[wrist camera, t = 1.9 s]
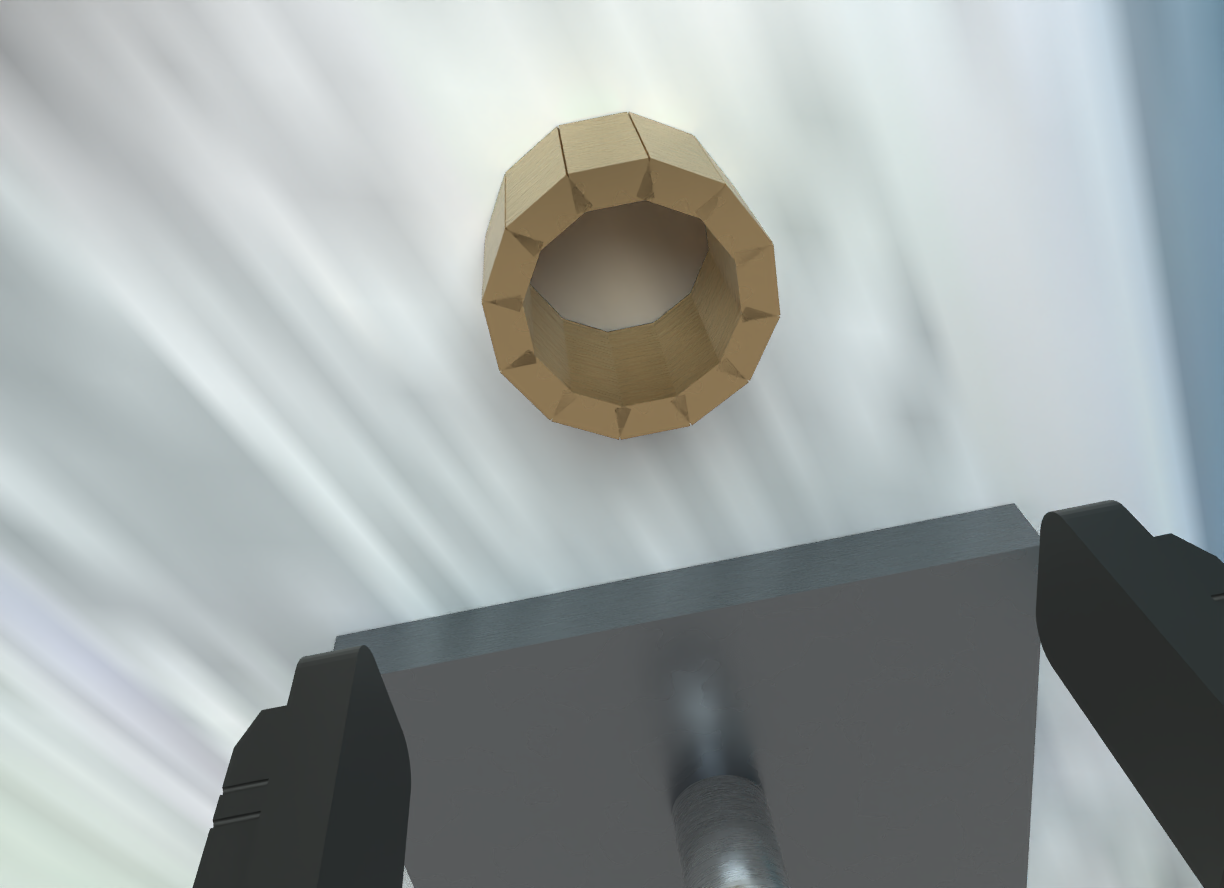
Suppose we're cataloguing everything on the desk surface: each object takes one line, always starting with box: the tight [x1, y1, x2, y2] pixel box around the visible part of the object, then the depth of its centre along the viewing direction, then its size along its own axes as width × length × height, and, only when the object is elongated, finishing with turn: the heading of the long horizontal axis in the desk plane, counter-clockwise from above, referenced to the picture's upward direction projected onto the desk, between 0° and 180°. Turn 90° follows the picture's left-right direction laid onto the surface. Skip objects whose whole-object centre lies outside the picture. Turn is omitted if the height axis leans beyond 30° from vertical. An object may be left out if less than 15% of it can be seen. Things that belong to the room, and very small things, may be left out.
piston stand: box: [334, 504, 1040, 888], centre depth 30 cm, size 20×16×9 cm
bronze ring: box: [482, 112, 780, 440], centre depth 23 cm, size 6×6×4 cm
